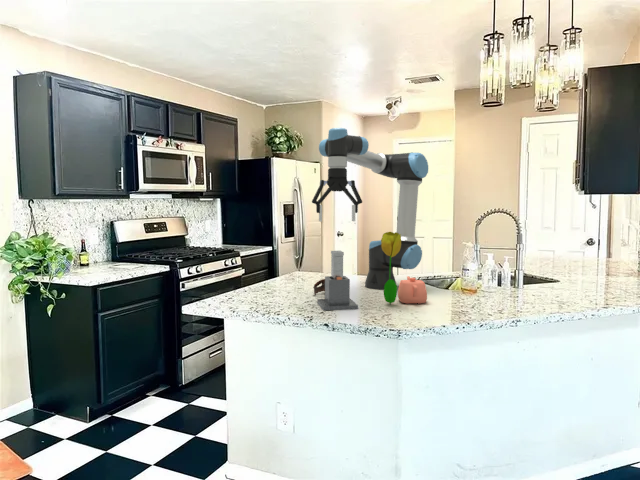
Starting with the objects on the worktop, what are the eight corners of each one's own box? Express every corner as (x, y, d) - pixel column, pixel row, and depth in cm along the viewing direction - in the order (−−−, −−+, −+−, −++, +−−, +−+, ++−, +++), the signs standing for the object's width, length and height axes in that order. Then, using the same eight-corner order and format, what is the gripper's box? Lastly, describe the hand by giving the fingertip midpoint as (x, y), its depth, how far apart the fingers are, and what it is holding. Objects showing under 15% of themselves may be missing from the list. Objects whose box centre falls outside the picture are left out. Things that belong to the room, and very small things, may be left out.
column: (340, 299, 199) (340, 250, 197) (343, 303, 193) (344, 252, 191) (330, 300, 198) (330, 250, 196) (333, 303, 193) (333, 252, 191)
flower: (379, 302, 202) (380, 231, 200) (398, 302, 202) (399, 231, 199) (381, 307, 194) (382, 233, 191) (401, 307, 194) (402, 233, 191)
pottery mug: (337, 298, 213) (328, 283, 210) (318, 306, 215) (310, 291, 212) (338, 286, 224) (329, 271, 222) (320, 294, 226) (312, 280, 224)
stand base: (349, 301, 204) (349, 272, 203) (358, 309, 190) (358, 277, 189) (317, 302, 202) (317, 273, 200) (323, 310, 188) (323, 279, 187)
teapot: (401, 306, 195) (402, 281, 194) (394, 297, 213) (395, 273, 212) (429, 306, 195) (430, 281, 194) (420, 297, 213) (421, 274, 212)
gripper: (365, 168, 197) (364, 220, 199) (305, 168, 192) (304, 220, 194) (370, 167, 189) (369, 221, 191) (307, 166, 185) (307, 221, 187)
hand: (337, 221), depth 193 cm, fingers open, 13 cm apart
